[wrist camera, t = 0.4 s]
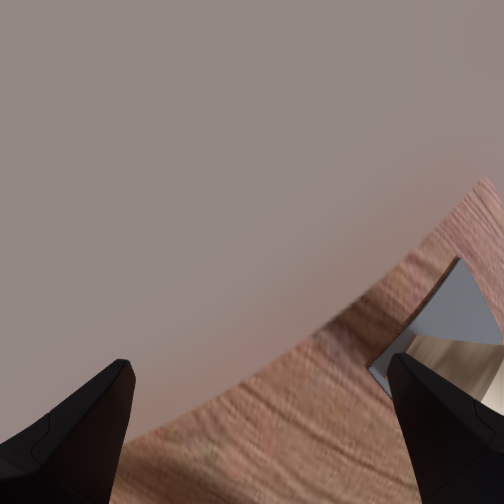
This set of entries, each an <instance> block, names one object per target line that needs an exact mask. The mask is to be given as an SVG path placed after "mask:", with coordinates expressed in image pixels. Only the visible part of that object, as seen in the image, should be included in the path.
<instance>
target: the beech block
mask: <svg viewBox="0 0 504 504" xmlns="http://www.w3.org/2000/svg"><path fill="white" fill-rule="evenodd" d="M404 352H405V353H407V354H409V355H410V356H412V357H413V358H415V359H416V360H418V361H419V362H421V363H422V364H424V365H425V366H427V367H428V368H430V369H431V370H433V371H434V372H436V373H437V374H439V375H440V376H442V377H443V378H445V379H446V380H448V381H449V382H451V383H452V384H454V385H455V386H457V387H458V388H460V389H461V390H463V391H464V392H466V393H467V394H469V395H470V396H472V397H473V398H475V399H477V400H478V401H480V402H481V403H483V404H484V405H486V406H487V407H489V408H491V409H492V410H494V411H496V412H498V413H499V414H501V415H503V416H504V346H503V345H493V344H483V343H474V342H466V341H458V340H450V339H443V338H436V337H429V336H422V335H414V337H413V338H412V340H411V341H410V343H409V345H408V346H407V348H406V349H405V351H404ZM385 379H386V380H387V381H388V379H387V376H386V377H385Z"/></svg>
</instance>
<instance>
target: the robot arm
mask: <svg viewBox="0 0 504 504" xmlns="http://www.w3.org/2000/svg"><path fill="white" fill-rule="evenodd" d="M387 379H388V383H389V387H390V391H391V396H392V400H393V405H394V409H395V412H396V415H397V418H398V421H399V424H400V427H401V430H402V433H403V436H404V440H405V443H406V446H407V449H408V453H409V456H410V459H411V463H412V466H413V470H414V473H415V477H416V481H417V484H418V488H419V492H420V496H421V500H422V504H504V416H503V415H501V414H499V413H498V412H496V411H494V410H492V409H491V408H489V407H487V406H486V405H484V404H483V403H481V402H480V401H478V400H477V399H475V398H473V397H472V396H470V395H469V394H467V393H466V392H464V391H463V390H461V389H460V388H458V387H457V386H455V385H454V384H452V383H451V382H449V381H448V380H446V379H445V378H443V377H442V376H440V375H439V374H437V373H436V372H434V371H433V370H431V369H430V368H428V367H427V366H425V365H424V364H422V363H421V362H419V361H418V360H416V359H415V358H413V357H412V356H410V355H409V354H407V353H405V352H398V353H394V354H393V355H392V358H391V360H390V363H389V365H388V368H387ZM135 383H136V377H135V374H134V371H133V369H132V366H131V363H130V362H129V361H128V360H126V359H117V360H115V361H114V362H113V363H111V364H110V365H109V366H107V367H106V368H105V369H104V370H102V371H101V372H100V373H98V374H97V375H96V376H95V377H93V378H92V379H91V380H89V381H88V382H87V383H86V384H84V385H83V386H82V387H81V388H79V389H78V390H77V391H75V392H74V393H73V394H71V395H70V396H69V397H68V398H66V399H65V400H64V401H62V402H61V403H60V404H59V405H57V406H56V407H55V408H53V409H52V410H51V411H50V413H47V414H46V415H44V416H43V417H42V418H40V419H39V420H38V421H36V422H35V423H34V424H32V425H31V426H29V427H27V428H26V429H24V430H23V431H21V432H20V433H18V434H16V435H15V436H13V437H11V438H10V439H8V440H6V441H5V442H3V443H1V444H0V504H109V501H110V496H111V491H112V487H113V482H114V478H115V473H116V469H117V465H118V461H119V457H120V453H121V449H122V445H123V441H124V437H125V434H126V430H127V426H128V423H129V419H130V413H131V406H132V400H133V394H134V389H135Z"/></svg>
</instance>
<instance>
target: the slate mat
mask: <svg viewBox="0 0 504 504" xmlns="http://www.w3.org/2000/svg"><path fill="white" fill-rule="evenodd" d="M414 335H422V336H429V337H436V338H443V339H450V340H458V341H466V342H474V343H483V344H493V345H500V343H501V341H502V340H503V336H502V334H501V332H500V329H499V327H498V325H497V323H496V321H495V318H494V316H493V314H492V312H491V310H490V308H489V306H488V304H487V302H486V300H485V298H484V296H483V294H482V292H481V291H480V289H479V287H478V285H477V283H476V281H475V280H474V278H473V276H472V274H471V273H470V271H469V269H468V268H467V266H466V264H465V263H464V261H463V259H462V258H459V259H458V261H457V262H456V264H455V265H454V266H453V268H452V269H451V271H450V272H449V274H448V275H447V276H446V278H445V279H444V281H443V282H442V283H441V285H440V286H439V287H438V289H437V290H436V291H435V293H434V294H433V295H432V297H431V298H430V299H429V300H428V302H427V303H426V304H425V305H424V307H423V308H422V309H421V310H420V312H419V313H418V314H417V315H416V316H415V318H414V319H413V320H412V321H411V322H410V323H409V325H408V326H407V327H406V328H405V329H404V330H403V331H402V333H401V334H400V335H399V336H398V337H397V338H396V339H395V340H394V341H393V343H392V344H391V345H390V346H389V347H388V348H387V349H386V350H385V351H384V352H383V353H382V354H381V355H380V356H379V357H378V358H377V359H376V360H375V361H374V362H373V363H372V364H371V365H370V366H369V367H368V368H367V369H368V371H369V372H370V373H371V374H372V375H373V377H374V378H375V379H376V380H377V382H378V383H379V384H380V385H381V386H382V388H383V389H384V390H385V391H386V393H387V394H388V395H389V396H390V398H391V399H392V396H391V391H390V387H389V383H388V381H387V380H386V379H385V377H386V376H387V368H388V365H389V363H390V360H391V358H392V355H393V354H394V353H398V352H404V351H405V349H406V348H407V346H408V345H409V343H410V341H411V340H412V338H413V337H414Z"/></svg>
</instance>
